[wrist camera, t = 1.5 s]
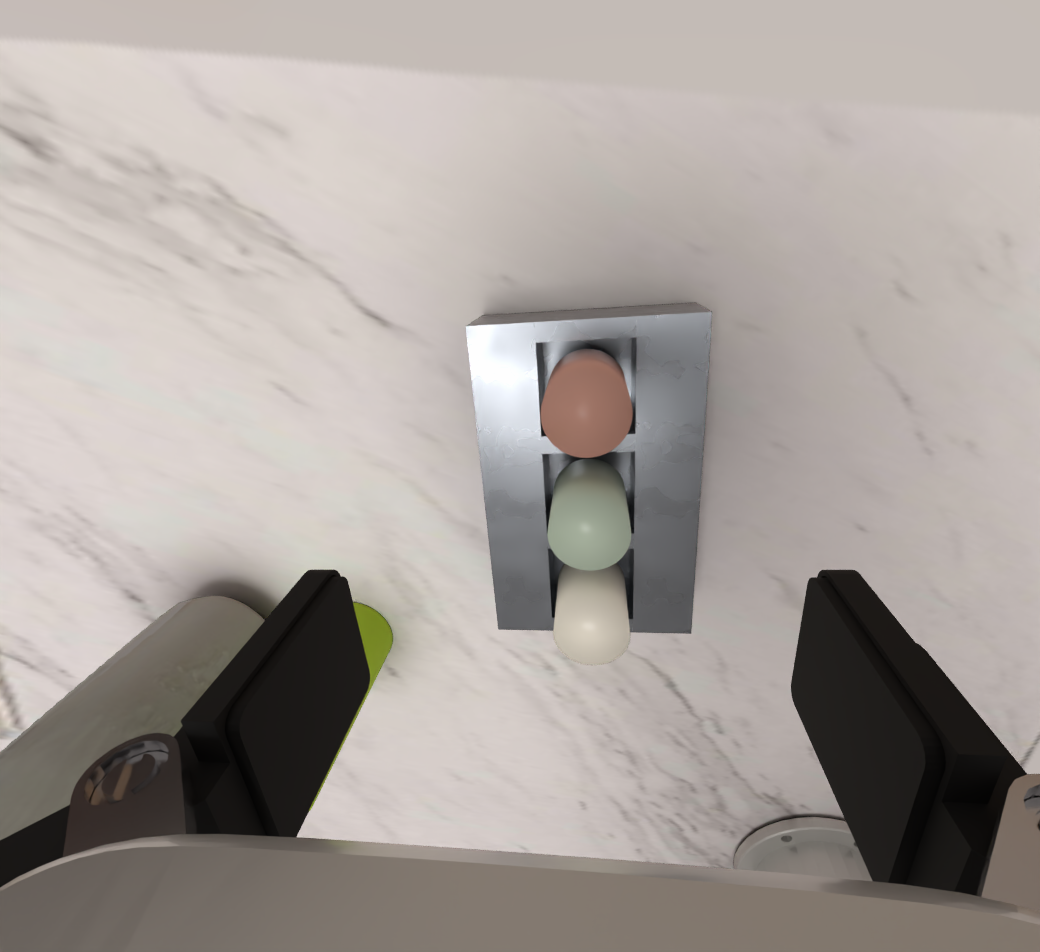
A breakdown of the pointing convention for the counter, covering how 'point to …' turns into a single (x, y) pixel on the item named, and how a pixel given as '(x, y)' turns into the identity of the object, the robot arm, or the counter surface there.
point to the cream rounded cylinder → (591, 615)
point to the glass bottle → (121, 704)
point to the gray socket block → (638, 458)
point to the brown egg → (586, 404)
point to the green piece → (589, 516)
